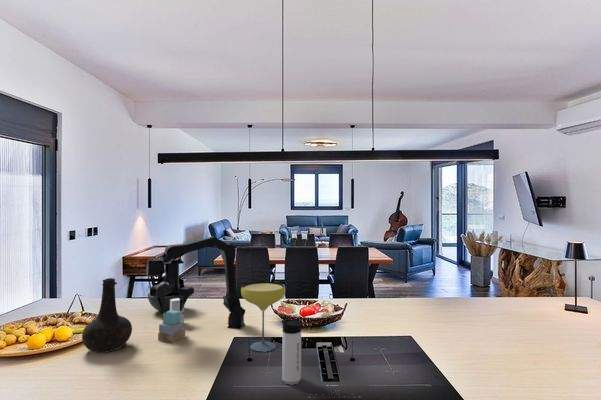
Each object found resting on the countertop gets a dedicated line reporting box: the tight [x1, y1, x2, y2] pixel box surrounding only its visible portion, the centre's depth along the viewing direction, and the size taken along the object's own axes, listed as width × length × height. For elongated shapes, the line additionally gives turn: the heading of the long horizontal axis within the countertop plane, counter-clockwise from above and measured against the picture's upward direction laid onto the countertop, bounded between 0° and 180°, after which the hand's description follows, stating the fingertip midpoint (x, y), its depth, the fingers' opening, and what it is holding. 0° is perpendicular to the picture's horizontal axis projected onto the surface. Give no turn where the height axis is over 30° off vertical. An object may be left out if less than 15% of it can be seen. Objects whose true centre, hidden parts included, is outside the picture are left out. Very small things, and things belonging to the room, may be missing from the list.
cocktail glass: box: [240, 281, 286, 353], centre depth 150 cm, size 18×18×25 cm
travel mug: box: [281, 319, 302, 386], centre depth 122 cm, size 6×7×20 cm
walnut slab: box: [157, 328, 186, 343], centre depth 159 cm, size 8×8×4 cm
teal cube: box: [162, 310, 180, 325], centre depth 160 cm, size 5×5×4 cm
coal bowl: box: [147, 275, 186, 313], centre depth 198 cm, size 20×20×19 cm
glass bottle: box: [81, 277, 133, 353], centre depth 148 cm, size 18×18×28 cm
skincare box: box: [170, 298, 185, 325], centre depth 177 cm, size 6×4×12 cm
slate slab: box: [158, 321, 184, 335], centre depth 159 cm, size 7×7×4 cm
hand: (171, 309), depth 160 cm, fingers open, 9 cm apart
